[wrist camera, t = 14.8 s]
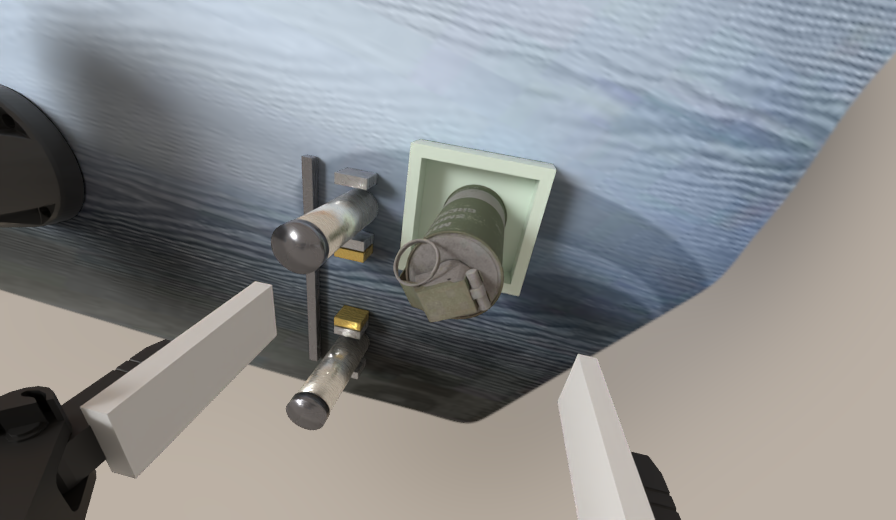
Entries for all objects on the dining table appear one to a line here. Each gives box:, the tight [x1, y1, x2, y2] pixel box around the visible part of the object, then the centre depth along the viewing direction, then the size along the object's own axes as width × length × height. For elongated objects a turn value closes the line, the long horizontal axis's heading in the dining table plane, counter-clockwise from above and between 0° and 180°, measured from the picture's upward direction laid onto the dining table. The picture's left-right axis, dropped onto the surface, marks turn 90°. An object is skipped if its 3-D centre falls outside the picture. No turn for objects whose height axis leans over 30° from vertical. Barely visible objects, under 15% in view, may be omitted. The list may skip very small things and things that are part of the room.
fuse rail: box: [271, 155, 378, 430], centre depth 32 cm, size 7×25×11 cm, turn 171°
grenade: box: [394, 184, 507, 322], centre depth 24 cm, size 6×6×15 cm
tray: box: [398, 139, 556, 296], centre depth 30 cm, size 12×12×3 cm
